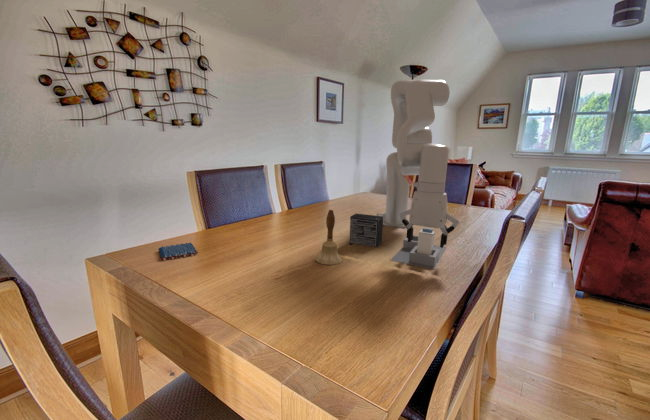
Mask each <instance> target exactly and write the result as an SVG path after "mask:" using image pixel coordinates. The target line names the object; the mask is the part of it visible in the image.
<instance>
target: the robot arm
mask: <svg viewBox="0 0 650 420" xmlns="http://www.w3.org/2000/svg"><path fill="white" fill-rule="evenodd" d="M450 92H451V91H450V87H449V84H448V82H446V81H445V80H444V79H402V80H396V81H395V82H394V83H392V85H391V89H390V100H391V104H392V105H391V106H392V111H393V123H392V124H393V125H392V132H391V133H392V135H391V143H392V147H393V148H395V149H396V152H391V153H390V154H388V156H387V158H386V161H385V163H386V176H387V177H386V178H387V179H386V181H387V183H386V195H385V196H386V198H385V211H384V213H382V212H377V213H376V215H375V216H383V226H384V227H388V228H389V227H390V228H396V229H404V228H405V229H406V237H407V238H408V242H411V241H412V239H413V235H414V226H418V227H424V228H430V229H433V228H434V229H439V230H440V231H441V232H442V233H441V236H440V242H439V243H440V244H439V246H440V247H441V248H443V247H445V246H446V245H447V243H448V235H449V234H450V233H451V232H453V231H454V230H455V229H456V228H457V226H458V225H459V224H460V220H459V219H457V218H456V217H454V216H453V215H452V214H450V213H448V196H447V195H448V194H447V192H445V189H446V182H447V181H446V180H447V170H448V162H449V147H448V146H447V145H444V144H440V143H433V132H432V129H431V128H430V126H431V125H432V124H433V123H434V121H435V119H436V115H435V113H436V112H435V109H434V108H435V107H443V106H445V105H446V104H447V103H448V101H449V98H450ZM405 176H418V181H416V182H413V183H412V187H414V188H416V190H415V191H413V196H412V199H411V205H410V209H409V197H410V183H409V181H408V180H407V178H406V177H405ZM408 215H409V219H408ZM447 220H448V222H449V221H450V222H451V223H452V224H451V225H450V226H449V227H447V225H446V224H447Z"/></svg>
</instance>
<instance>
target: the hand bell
mask: <svg viewBox="0 0 650 420" xmlns="http://www.w3.org/2000/svg"><path fill="white" fill-rule="evenodd" d="M335 221H336V217H335V214H334V210H333V209H329V210H328V212H327V215H326V229H327V233H326V234H327V235H326V236H327V237H326V241H323V243H322V246H321V250H320V253H319V254H318V255H317V256H316V257H315V261H316V262H317V263H319V264H322V265H325V266H335V265H339V264H341V263H342V262H343V257H341V255H340V254H339V251H338V245H337V244H338V243H337V242H335V241H334V240H333V238H334V235H333V234H334V233H333V232H334V228H335V224H336V222H335Z"/></svg>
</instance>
